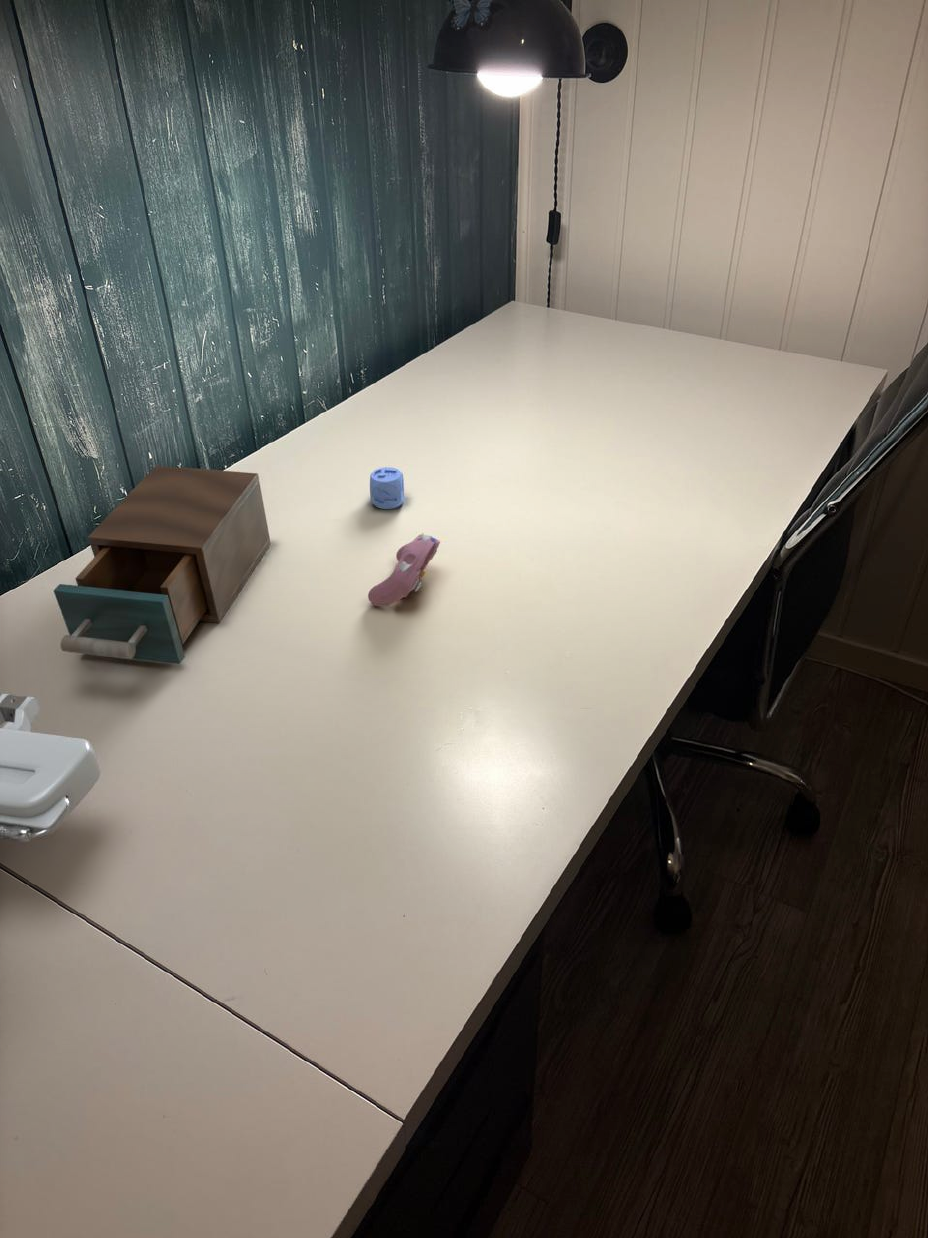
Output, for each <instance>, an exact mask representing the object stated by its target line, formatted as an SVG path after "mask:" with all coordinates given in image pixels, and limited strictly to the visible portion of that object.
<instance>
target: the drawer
mask: <svg viewBox="0 0 928 1238" xmlns="http://www.w3.org/2000/svg"><path fill="white" fill-rule="evenodd" d="M75 582H76V584H77V585H73V584H64V583H59V584H58V585H57V586H56V588H54V590H53V593H54V596H55V598H56V601H57V605H58V607H59V610H60V612H61V616H62V617H63V620H64V623H65V626H66V628H67V631H68V634H69V635H68V634H66V635H64V636H63V637H62V638H61V640H60V649H61V651H62V652H66V653H73V654H82V655H90V656H98V657H99V656H100V657H106V658H116V659H124V660H132V659H133V660H142V661H147V662H148V661H149V662H157V663H168V664H174V665H181V664H182V662H183V660H184V659H185V653H184V649H183V646H182V645H184V644H185V642H186V641H187V639H188V638H189V637H190V635H191V634H192V632H193V631H194V629H195V628H196V627H197V625H198V623H199V622H200V621H199V620H200V619H201V617H202V616H203V614H204V613H205V612H206V610H207V609H208V603H207V599H206V595H205V591H204V587H203V583H202V578H201V574H200V570H199V566H198V562H197V558H196V554H188V553H178V552H167V551H157V550H146V549H136V548H125V547H115V546H104V547H103V549H102V550H101V551H100V552H99V553H98V554H97V555H96V556H95V557H94V556H93V558H92V559H91V560H90V561H89V563H88V564H86V566H85V567H84V568H83V569H82V571H81V572H80V573H79V574H78V575H77V576H76V577H75Z"/></svg>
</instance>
